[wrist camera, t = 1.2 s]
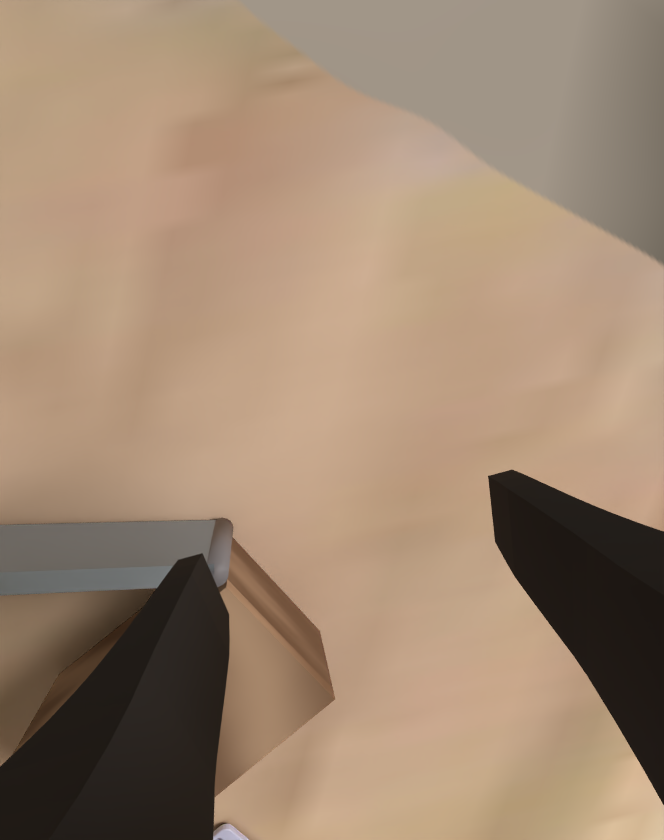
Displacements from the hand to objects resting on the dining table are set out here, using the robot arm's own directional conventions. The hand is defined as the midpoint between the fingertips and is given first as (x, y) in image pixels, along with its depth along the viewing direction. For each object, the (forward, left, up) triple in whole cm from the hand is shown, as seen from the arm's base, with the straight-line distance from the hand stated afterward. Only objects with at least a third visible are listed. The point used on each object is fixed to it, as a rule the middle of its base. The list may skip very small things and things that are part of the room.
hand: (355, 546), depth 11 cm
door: (-11, +2, -14) cm, 18 cm away
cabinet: (-13, -6, -14) cm, 20 cm away
